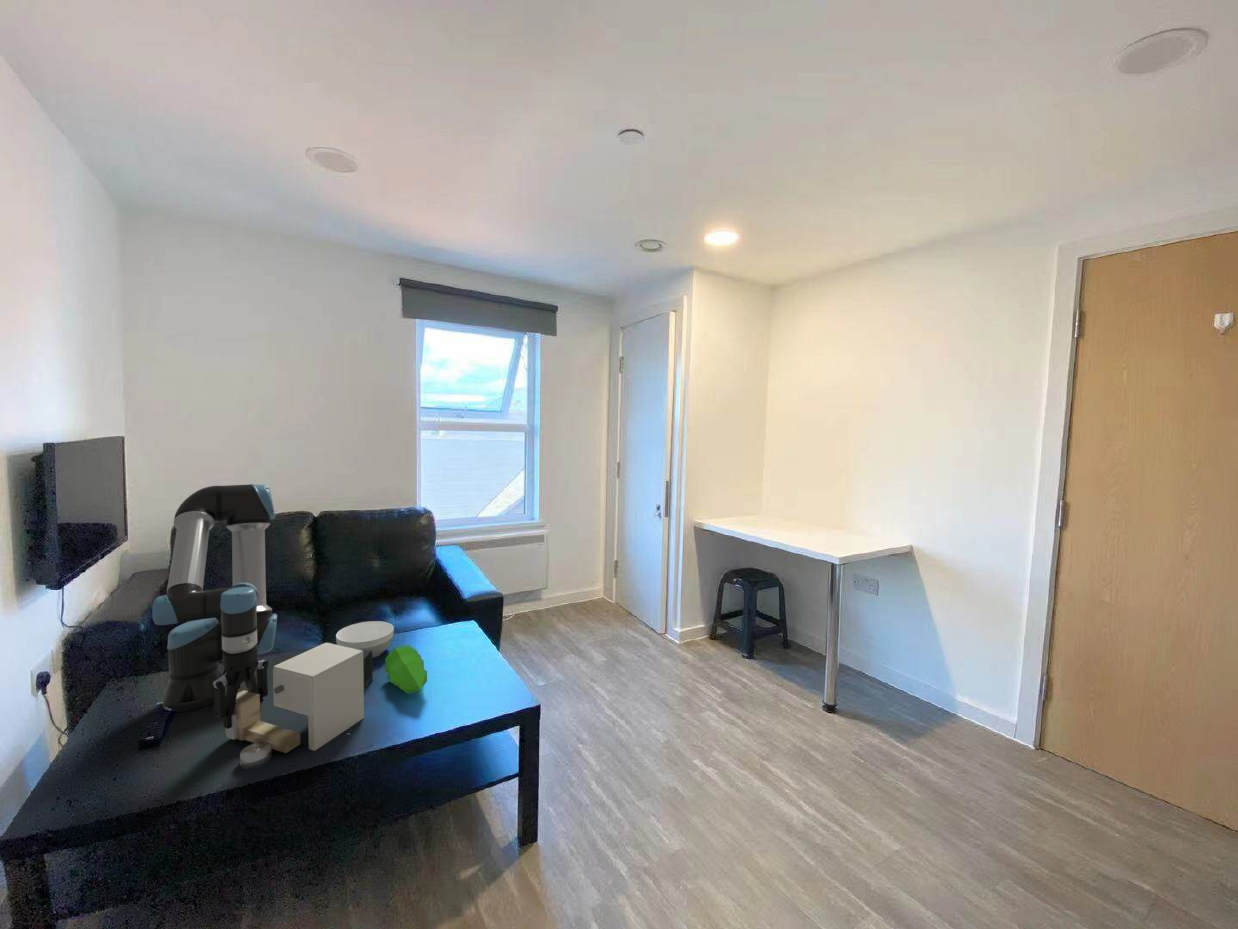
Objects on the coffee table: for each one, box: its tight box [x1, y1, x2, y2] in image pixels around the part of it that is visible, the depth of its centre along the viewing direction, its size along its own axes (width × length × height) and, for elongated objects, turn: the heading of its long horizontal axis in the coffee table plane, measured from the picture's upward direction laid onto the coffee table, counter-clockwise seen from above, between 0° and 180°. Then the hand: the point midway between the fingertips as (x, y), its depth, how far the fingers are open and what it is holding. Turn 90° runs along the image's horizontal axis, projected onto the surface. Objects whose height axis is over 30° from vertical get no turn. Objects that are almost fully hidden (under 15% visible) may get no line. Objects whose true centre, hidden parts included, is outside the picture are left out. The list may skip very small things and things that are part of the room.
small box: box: [362, 650, 374, 690], centre depth 166 cm, size 11×6×10 cm, turn 92°
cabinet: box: [272, 642, 365, 752], centre depth 141 cm, size 14×18×20 cm
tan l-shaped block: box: [225, 689, 301, 754], centre depth 135 cm, size 21×5×10 cm, turn 71°
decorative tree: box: [384, 644, 428, 695], centre depth 165 cm, size 11×12×30 cm
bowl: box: [335, 620, 394, 659], centre depth 187 cm, size 19×19×9 cm
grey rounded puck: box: [239, 742, 273, 770], centre depth 129 cm, size 6×6×3 cm
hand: (243, 731), depth 138 cm, fingers closed on tan l-shaped block, 5 cm apart
